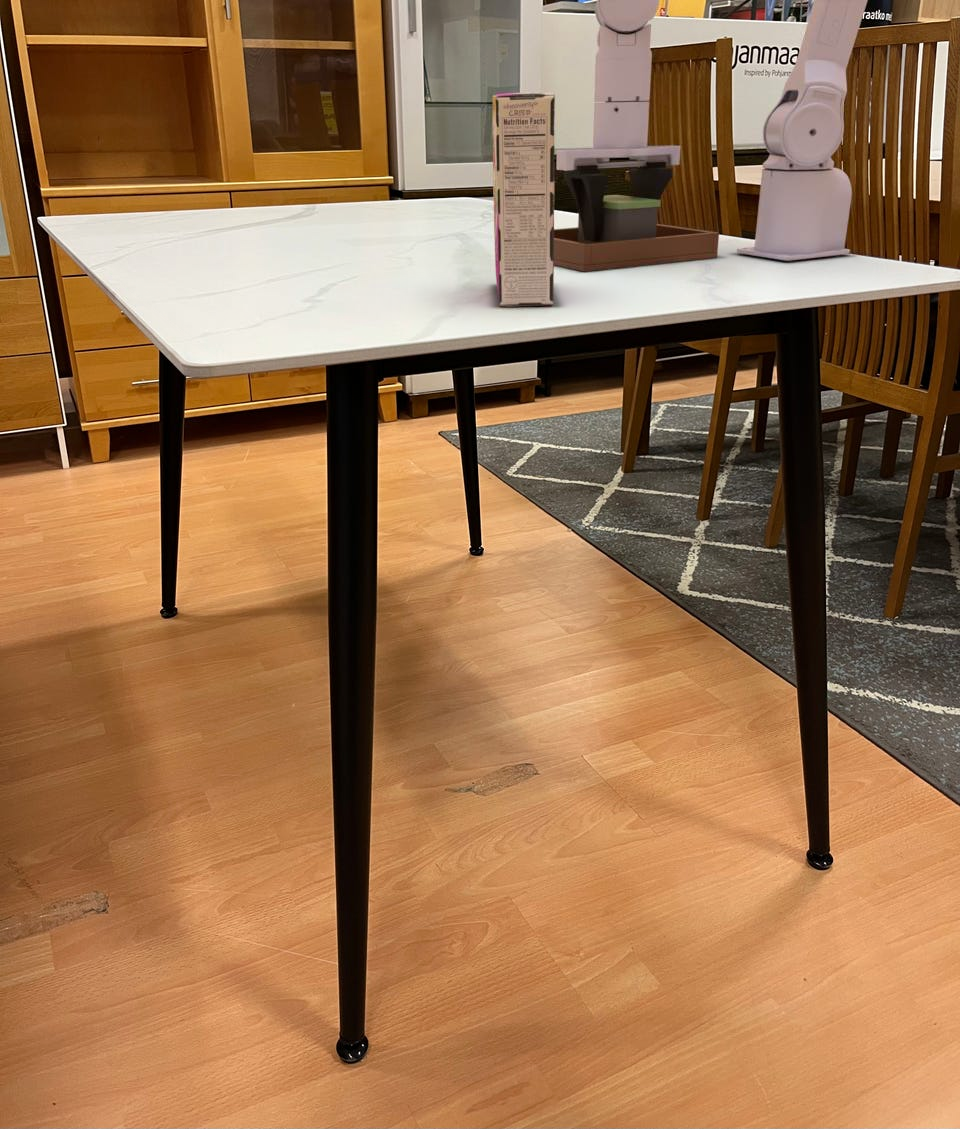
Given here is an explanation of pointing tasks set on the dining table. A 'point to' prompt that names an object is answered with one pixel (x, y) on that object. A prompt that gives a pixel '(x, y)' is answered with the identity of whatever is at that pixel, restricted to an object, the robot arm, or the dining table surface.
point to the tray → (634, 249)
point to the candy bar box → (524, 197)
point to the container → (625, 219)
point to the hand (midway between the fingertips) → (616, 238)
